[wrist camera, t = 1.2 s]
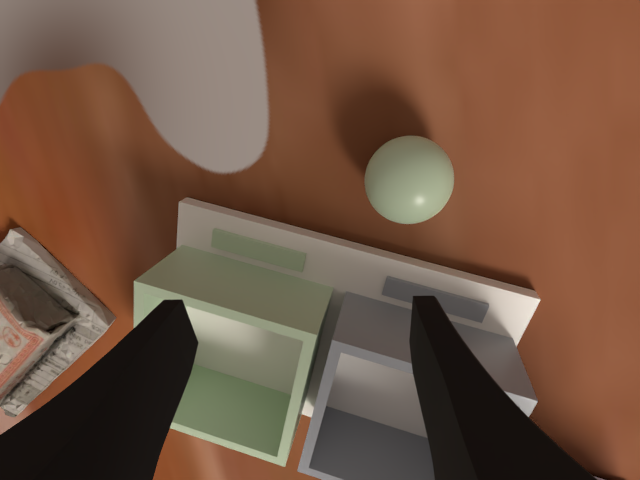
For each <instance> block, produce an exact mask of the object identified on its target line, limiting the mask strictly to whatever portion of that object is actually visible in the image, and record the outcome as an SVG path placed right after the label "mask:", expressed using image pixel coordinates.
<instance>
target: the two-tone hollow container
mask: <svg viewBox="0 0 640 480" xmlns="http://www.w3.org/2000/svg"><path fill="white" fill-rule="evenodd" d="M413 296H435V297H436V298H437V299H438V301H439V303H440V305H441V307H442V308H443V310H444V312H445V313H446V315H447V316H448V318H449V320H450V321H451V323H452V324H453V326H454V327H455V329H456V330H457V332H458V333H459V335H460V336H461V338H462V339H463V340H464V342H465V343H466V344H467V346H468V347H469V348H470V350H471V351H472V353H473V354H474V355H475V357H476V358H477V359H478V360H479V362H480V363H481V364H482V366H483V367H484V368H485V369H486V371H487V372H488V373H489V374H490V375H491V377H492V378H493V379H494V380H495V381H496V383H497V384H498V385H499V386H500V387H501V388H502V389H503V391H504V392H505V393H506V394H507V395H508V396H509V397H510V398H511V399H512V400H513V402H514V403H515V404H516V405H517V406H518V407H519V408H520V409H521V410H522V411H523V412H524V413H525V414H526V415H527V416H528V417H529V416H530V414H531V412H532V411H533V409H534V407H535V406H536V404H537V402H538V400H537V397H536V395H535V392H534V390H533V387H532V385H531V382H530V380H529V377H528V375H527V372H526V370H525V367H524V365H523V362H522V360H521V357H520V355H519V352H518V350H517V345H518V343H519V341H520V339H521V337H522V335H523V333H524V331H525V329H526V327H527V325H528V323H529V321H530V319H531V317H532V315H533V314H534V312H535V310H536V308H537V306H538V304H539V302H540V300H541V299H540V298H539V296H538V294H537V293H536V291H534V290H530V289H527V288H523V287H519V286H515V285H512V284H508V283H504V282H501V281H497V280H493V279H489V278H486V277H482V276H478V275H475V274H471V273H467V272H463V271H460V270H456V269H452V268H448V267H445V266H441V265H437V264H434V263H430V262H426V261H422V260H419V259H415V258H411V257H408V256H404V255H400V254H396V253H393V252H389V251H385V250H382V249H378V248H374V247H370V246H367V245H363V244H359V243H356V242H352V241H348V240H344V239H341V238H337V237H333V236H330V235H326V234H322V233H318V232H315V231H311V230H307V229H304V228H300V227H296V226H292V225H289V224H285V223H281V222H277V221H274V220H270V219H266V218H263V217H259V216H255V215H251V214H248V213H244V212H240V211H237V210H233V209H229V208H225V207H222V206H218V205H214V204H211V203H207V202H203V201H199V200H196V199H192V198H188V197H186V198H184V199H183V200H181V201H179V207H178V226H177V246H176V250H175V251H173V252H172V253H170V254H169V255H168V256H166V257H165V258H164V259H162V260H161V261H160V262H158V263H157V264H156V265H154V266H153V267H152V268H150V269H149V270H148V271H146V272H145V273H144V274H142V275H141V276H140V277H138V278H137V279H136V280H134V328H135V327H136V326H137V325H138V324H139V323H140V322H141V321H142V320H143V319H144V318H145V317H146V316H147V315H148V314H149V313H150V312H151V311H152V310H153V309H154V308H156V307H157V306H158V305H159V304H160V303H161V302H162V301H163V300H177V299H182V300H183V302H184V305H185V308H186V311H187V313H188V316H189V319H190V321H191V324H192V327H193V329H194V332H195V335H196V337H197V340H198V347H197V352H196V356H195V360H194V364H193V368H192V371H191V375H190V377H189V380H188V383H187V385H186V388H185V390H184V393H183V395H182V398H181V401H180V403H179V406H178V408H177V411H176V413H175V416H174V418H173V421H172V423H171V426H170V428H171V429H174V430H177V431H180V432H183V433H186V434H189V435H192V436H195V437H198V438H201V439H204V440H207V441H210V442H213V443H216V444H219V445H222V446H225V447H228V448H231V449H233V450H236V451H239V452H242V453H245V454H248V455H251V456H254V457H257V458H260V459H263V460H266V461H269V462H272V463H275V464H278V465H281V466H284V467H285V465H286V462H287V459H288V456H289V452H290V449H291V446H292V443H293V440H294V437H295V433H296V430H297V427H298V424H299V421H300V418H301V414H303V415H306V416H309V417H312V418H311V422H310V425H309V429H308V433H307V437H306V440H305V444H304V448H303V452H302V456H301V459H300V463H299V467H298V471H299V472H301V473H304V474H307V475H310V476H313V477H316V478H319V479H322V480H435V476H434V469H433V462H432V457H431V451H430V446H429V442H428V437H427V433H426V429H425V424H424V420H423V416H422V411H421V407H420V403H419V398H418V394H417V389H416V385H415V381H414V376H413V370H412V362H411V353H410V344H409V338H410V326H411V314H412V301H413Z"/></svg>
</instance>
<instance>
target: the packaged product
mask: <svg viewBox="0 0 640 480" xmlns="http://www.w3.org/2000/svg"><path fill="white" fill-rule="evenodd" d="M115 319H116V317H115V316H114V314H113V313H112V312H111V311H110V310H109V309H108V308H107V307H105V306H104V305H103V304H102V303H101V302H100V301H99V300H98V299H97V298H96V297H95V296H94V295H93V294H92V293H91V292H90V291H89V290H88V289H87V288H86V287H84V286H83V285H82V284H81V283H80V282H79V281H78V280H77V279H76V278H75V277H74V276H73V275H72V274H71V273H70V272H69V271H68V270H67V269H66V268H65V267H64V266H63V265H62V264H61V263H60V262H59V261H57V260H56V259H55V258H54V257H53V256H52V255H51V254H50V253H49V252H48V251H47V250H46V249H45V248H43V247H42V245H41V244H40V243H39V242H38V241H37V240H36V239H34V238H33V237H32V236H31V235H29V234H28V233H27V232H26V231H25V230H23V229H22V228H21V227H19V228H14V229H10V231H9V233H8V234H7V236H6V237H5V239H4V240H3V241H2V242H1V243H0V407H1V408H2V409H3V410H4V411H5V414H6V415H8V416H11V417H16V416H17V415H18V414H19V413H21V412H22V411H23V410H24V409H25V408H26V406H27V405H28V404H29V403H30V402H31V401H32V400H33V399H35V398H36V397H37V396H38V395H39V394H40V393H41V392H43V391H44V390H45V389H46V388H47V387H48V386H49V385H50V384H51V383H52V382H53V381H54V380H55V379H56V378H57V377H58V376H59V375H60V374H61V373H63V372H64V371H65V370H66V369H67V368H68V367H69V366H71V365H72V364H73V363H74V362H75V361H76V360H77V359H78V358H79V357H80V356H81V355H82V354H83V353H84V352H85V351H86V350H87V349H88V348H89V347H90V346H92V345H93V344H94V343H95V342H96V341H97V340H98V339H99V338H100V337H101V336H102V335H103V334H104V333H105V332H106V331H107V330H108V328H109V327H110V326H111V324H112V323H113V322H114V320H115Z"/></svg>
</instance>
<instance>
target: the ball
mask: <svg viewBox="0 0 640 480" xmlns="http://www.w3.org/2000/svg"><path fill="white" fill-rule="evenodd" d="M453 186H454V171H453V167H452V163H451V161H450V159H449V157H448V155H447V154H446V152H445V151H444V150H443V149H442V148H441V147H440V146H439V145H437V144H436V143H435V142H433V141H431V140H429V139H427V138H424V137H420V136H402V137H397V138H395V139H392V140H390V141H388V142H386V143H385V144H384V145H382V146H381V147H380V148H379V149H378V150H377V151H376V152H375V153H374V154H373V156H372V157H371V159H370V161H369V163H368V165H367V168H366V173H365V190H366V194H367V197H368V199H369V201H370V203H371V205H372V206H373V207H374V209H375V210H376V211H377V212H378V213H379V214H380V215H382V216H383V217H385V218H386V219H388V220H391V221H393V222H396V223H401V224H414V223H419V222H423V221H425V220H428V219H430V218H431V217H433V216H435V215H436V214H437V213H439V212H440V211H441V210H442V209H443V207H444V206H445V205H446V203H447V202H448V200H449V198H450V196H451V193H452V190H453Z"/></svg>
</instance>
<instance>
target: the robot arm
mask: <svg viewBox="0 0 640 480" xmlns="http://www.w3.org/2000/svg"><path fill="white" fill-rule="evenodd" d="M409 344H410V353H411V362H412V370H413V376H414V381H415V385H416V389H417V394H418V398H419V403H420V407H421V411H422V416H423V420H424V424H425V429H426V433H427V437H428V442H429V446H430V451H431V457H432V462H433V469H434V476H435V480H605V479H601V478H598V477H595V476H593V475H591V474H590V473H589V472H588V471H587V470H585V469H584V468H583V467H582V466H581V465H579V464H578V463H577V462H576V461H575V460H574V459H573V458H572V457H570V456H569V455H568V454H567V453H566V452H565V451H564V450H563V449H562V448H561V447H559V446H558V445H557V444H556V443H555V442H554V441H553V440H552V439H551V438H550V437H549V436H547V435H546V434H545V433H544V432H543V431H542V430H541V429H540V428H539V427H538V426H537V425H536V424H535V423H534V422H533V421H532V420H531V419H530V418H529V417H528V416H527V415H526V414H525V413H524V412H523V411H522V410H521V409H520V408H519V407H518V406H517V405H516V404H515V403H514V402H513V400H512V399H511V398H510V397H509V396H508V395H507V394H506V393H505V392H504V391H503V389H502V388H501V387H500V386H499V385H498V384H497V383H496V381H495V380H494V379H493V378H492V377H491V375H490V374H489V373H488V372H487V371H486V369H485V368H484V367H483V366H482V364H481V363H480V362H479V360H478V359H477V358H476V357H475V355H474V354H473V353H472V351H471V350H470V348H469V347H468V346H467V344H466V343H465V342H464V340H463V339H462V338H461V336H460V335H459V333H458V332H457V330H456V329H455V327H454V326H453V324H452V323H451V321H450V320H449V318H448V316H447V315H446V313H445V312H444V310H443V308H442V307H441V305H440V303H439V301H438V299H437V298H436V297H435V296H413V301H412V314H411V326H410V338H409ZM197 347H198V340H197V337H196V335H195V332H194V329H193V327H192V324H191V321H190V319H189V316H188V313H187V311H186V308H185V305H184V302H183V300H182V299H177V300H163V301H162V302H161V303H160V304H159V305H158V306H157V307H156V308H154V309H153V310H152V311H151V312H150V313H149V314H148V315H147V316H146V317H145V318H144V319H143V320H142V321H141V322H140V323H139V324H138V325H137V326H136V327H135V328H134V329H133V330H132V331H131V332H130V333H129V334H127V335H126V336H125V337H124V338H123V339H122V340H121V341H120V342H119V343H118V344H117V345H116V346H115V347H114V348H113V349H112V350H110V351H109V352H108V353H107V354H106V355H105V356H104V357H102V358H101V359H100V360H99V361H98V362H97V363H96V364H94V365H93V366H92V367H91V368H90V369H89V370H88V371H86V372H85V373H84V374H83V375H82V376H81V377H79V378H78V379H77V380H76V381H75V382H73V383H72V384H71V385H70V386H68V387H67V388H66V389H65V390H63V391H62V392H61V393H59V394H58V395H57V396H55V397H54V398H53V399H51V400H50V401H49V402H47V403H46V404H45V405H43V406H42V407H41V408H39V409H38V410H36V411H35V412H33V413H32V414H30V415H29V416H28V417H26V418H25V419H23V420H22V421H20V422H19V423H17V424H16V425H14V426H13V427H11V428H10V429H8V430H7V431H6V432H4V433H3V434H1V435H0V480H152V479H153V476H154V473H155V469H156V466H157V462H158V459H159V455H160V452H161V450H162V447H163V444H164V441H165V438H166V436H167V433H168V431H169V428H170V426H171V423H172V421H173V418H174V416H175V413H176V411H177V408H178V406H179V403H180V401H181V398H182V395H183V393H184V390H185V388H186V385H187V383H188V380H189V377H190V375H191V371H192V368H193V364H194V360H195V356H196V352H197Z"/></svg>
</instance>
